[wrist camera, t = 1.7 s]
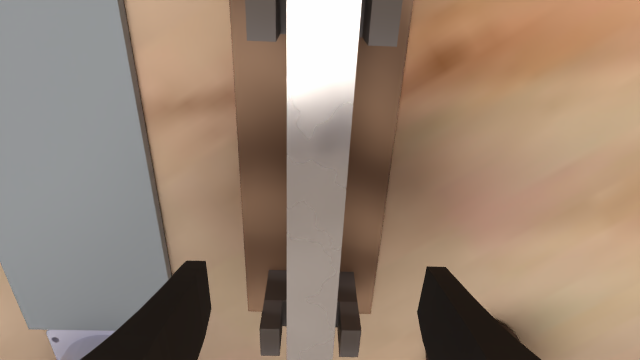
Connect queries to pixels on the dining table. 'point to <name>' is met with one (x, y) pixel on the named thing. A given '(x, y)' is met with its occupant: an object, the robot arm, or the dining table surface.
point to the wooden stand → (271, 157)
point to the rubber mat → (75, 167)
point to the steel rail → (317, 165)
